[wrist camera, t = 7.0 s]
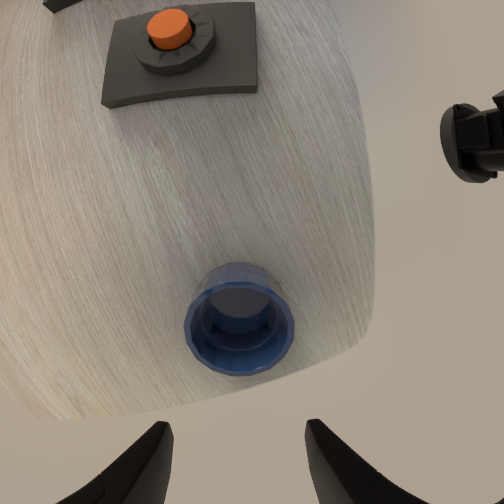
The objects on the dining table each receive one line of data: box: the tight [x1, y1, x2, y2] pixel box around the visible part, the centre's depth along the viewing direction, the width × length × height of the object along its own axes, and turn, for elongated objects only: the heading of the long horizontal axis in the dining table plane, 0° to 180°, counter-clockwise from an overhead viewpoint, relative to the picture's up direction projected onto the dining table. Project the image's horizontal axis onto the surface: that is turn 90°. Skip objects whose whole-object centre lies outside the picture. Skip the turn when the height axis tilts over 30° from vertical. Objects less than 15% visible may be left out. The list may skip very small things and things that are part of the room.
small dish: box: [184, 263, 294, 376], centre depth 18 cm, size 6×6×4 cm
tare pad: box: [101, 2, 258, 109], centre depth 14 cm, size 11×8×3 cm
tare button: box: [147, 9, 192, 50], centre depth 12 cm, size 3×3×2 cm
